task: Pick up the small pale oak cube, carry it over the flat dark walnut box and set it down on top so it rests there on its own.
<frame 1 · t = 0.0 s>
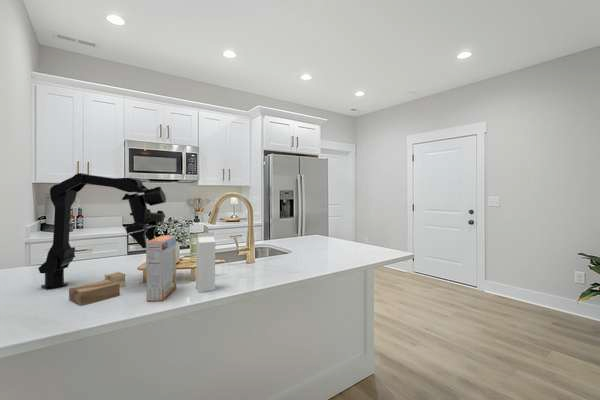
hand: (149, 246, 119), 15 cm above the countertop, tool pointing down, fingers open, 9 cm apart
walnut box: (94, 297, 103), on the countertop
cracker box: (161, 295, 108), on the countertop
milk: (205, 289, 114), on the countertop
oak cube: (115, 286, 116), on the countertop
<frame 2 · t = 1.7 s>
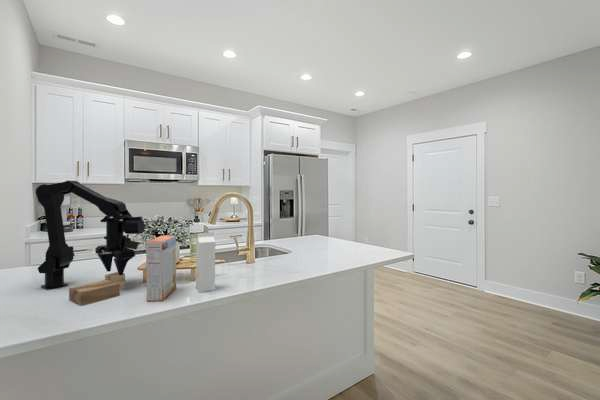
hand: (114, 273, 115), 5 cm above the countertop, tool pointing down, fingers open, 9 cm apart
nothing on the countertop moved.
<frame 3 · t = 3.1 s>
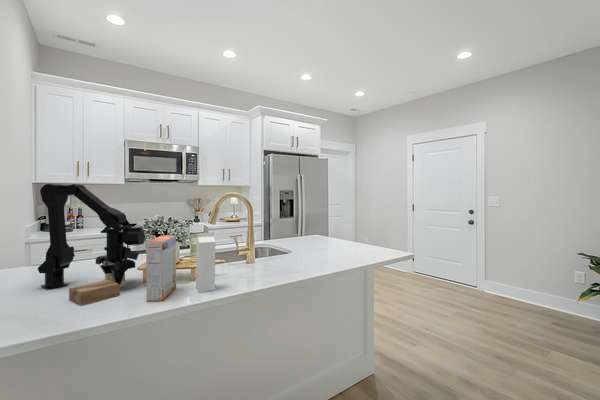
hand: (115, 283, 115), 1 cm above the countertop, tool pointing down, fingers closed on oak cube, 5 cm apart
oak cube: (115, 286, 116), on the countertop, touching gripper
everything else where it was.
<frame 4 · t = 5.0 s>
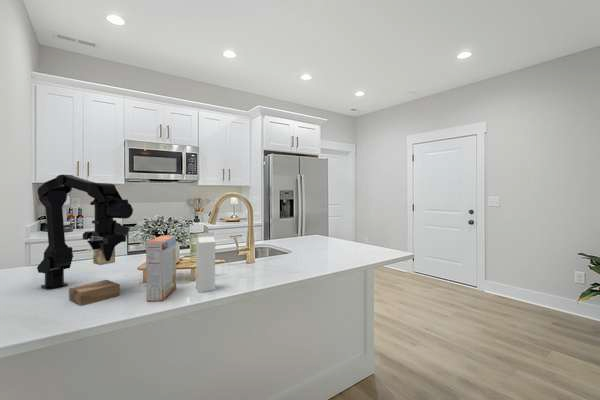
hand: (104, 260, 108), 12 cm above the countertop, tool pointing down, fingers closed on oak cube, 5 cm apart
oak cube: (104, 262, 108), point 11 cm above the countertop, touching gripper
everything else where it was.
when the fingers open (6 cm above the countertop, at t = 7.2 s): oak cube stays where it is, resting on walnut box.
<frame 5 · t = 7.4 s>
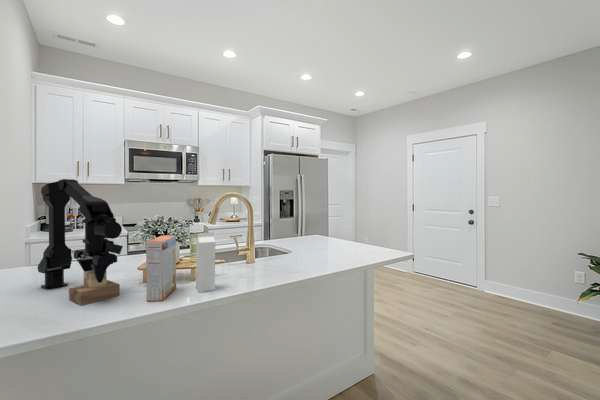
hand: (95, 280, 103), 6 cm above the countertop, tool pointing down, fingers open, 7 cm apart
oak cube: (95, 285, 103), point 4 cm above the countertop, touching walnut box
everything else where it was.
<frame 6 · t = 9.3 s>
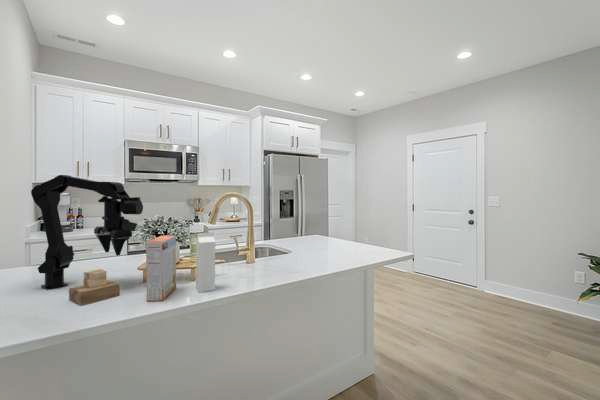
hand: (112, 253, 115), 13 cm above the countertop, tool pointing down, fingers open, 9 cm apart
nothing on the countertop moved.
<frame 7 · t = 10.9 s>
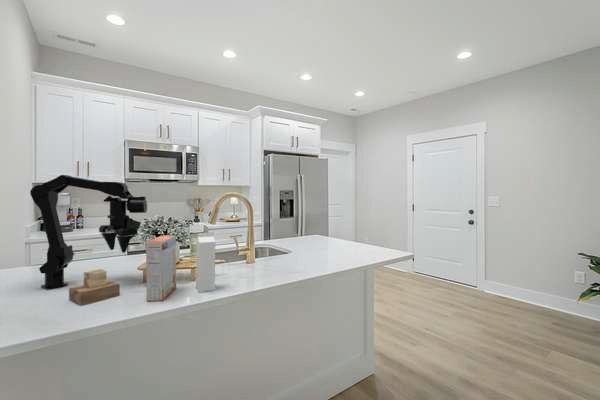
hand: (117, 251, 120), 13 cm above the countertop, tool pointing down, fingers open, 9 cm apart
nothing on the countertop moved.
at the end: oak cube inside the target area on the walnut box (0.1 cm from its centre), point 4.2 cm above the walnut box's base; oak cube tilted 0°; oak cube touching walnut box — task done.
